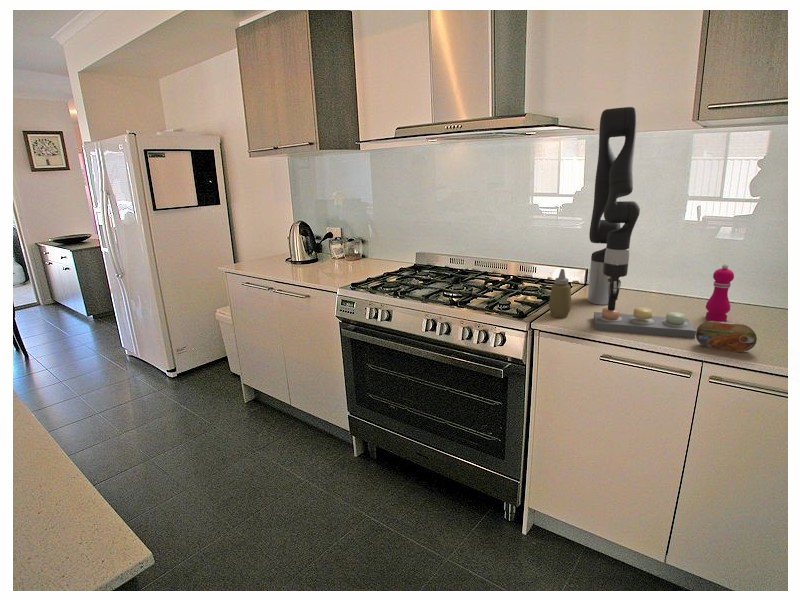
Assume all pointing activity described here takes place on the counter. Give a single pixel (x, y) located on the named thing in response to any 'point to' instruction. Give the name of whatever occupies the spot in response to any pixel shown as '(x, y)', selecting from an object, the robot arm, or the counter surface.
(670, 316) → the sage button
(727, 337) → the tin
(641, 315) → the ochre button
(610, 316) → the terracotta button
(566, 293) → the squeeze bottle
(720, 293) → the pepper mill
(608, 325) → the button panel
